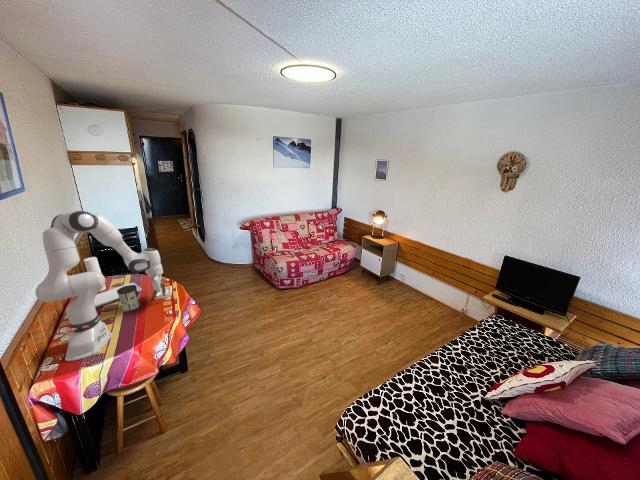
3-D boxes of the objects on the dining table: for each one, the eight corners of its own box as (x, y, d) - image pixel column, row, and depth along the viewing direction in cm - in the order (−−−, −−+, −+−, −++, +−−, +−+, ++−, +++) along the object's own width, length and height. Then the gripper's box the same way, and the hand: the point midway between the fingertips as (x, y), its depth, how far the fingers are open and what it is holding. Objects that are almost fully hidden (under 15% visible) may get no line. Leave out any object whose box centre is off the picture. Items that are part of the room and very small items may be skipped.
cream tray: (171, 297, 184) (170, 293, 182) (155, 300, 179) (154, 296, 178) (172, 289, 194) (171, 285, 193) (156, 292, 190) (156, 288, 189)
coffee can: (130, 302, 177) (125, 284, 172) (144, 303, 176) (140, 285, 171) (118, 311, 167) (112, 292, 163) (133, 312, 166) (127, 293, 162)
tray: (143, 293, 190) (142, 288, 188) (88, 313, 166) (87, 308, 165) (134, 286, 199) (133, 282, 198) (81, 304, 176) (80, 299, 174)
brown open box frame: (165, 296, 176) (162, 283, 172) (155, 298, 173) (152, 284, 170) (165, 291, 181) (163, 279, 177) (155, 293, 178) (152, 280, 175)
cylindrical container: (99, 292, 189) (89, 261, 181) (91, 291, 191) (81, 260, 183) (108, 287, 196) (99, 257, 188) (100, 286, 197) (91, 256, 189)
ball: (166, 294, 186) (165, 290, 185) (161, 295, 184) (160, 291, 184) (166, 292, 188) (165, 288, 187) (161, 293, 187) (160, 289, 186)
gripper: (159, 277, 163) (163, 296, 168) (161, 264, 181) (165, 282, 185) (147, 279, 161) (152, 298, 165) (151, 266, 178) (155, 284, 183)
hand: (159, 289), depth 176 cm, fingers closed on brown open box frame, 5 cm apart
